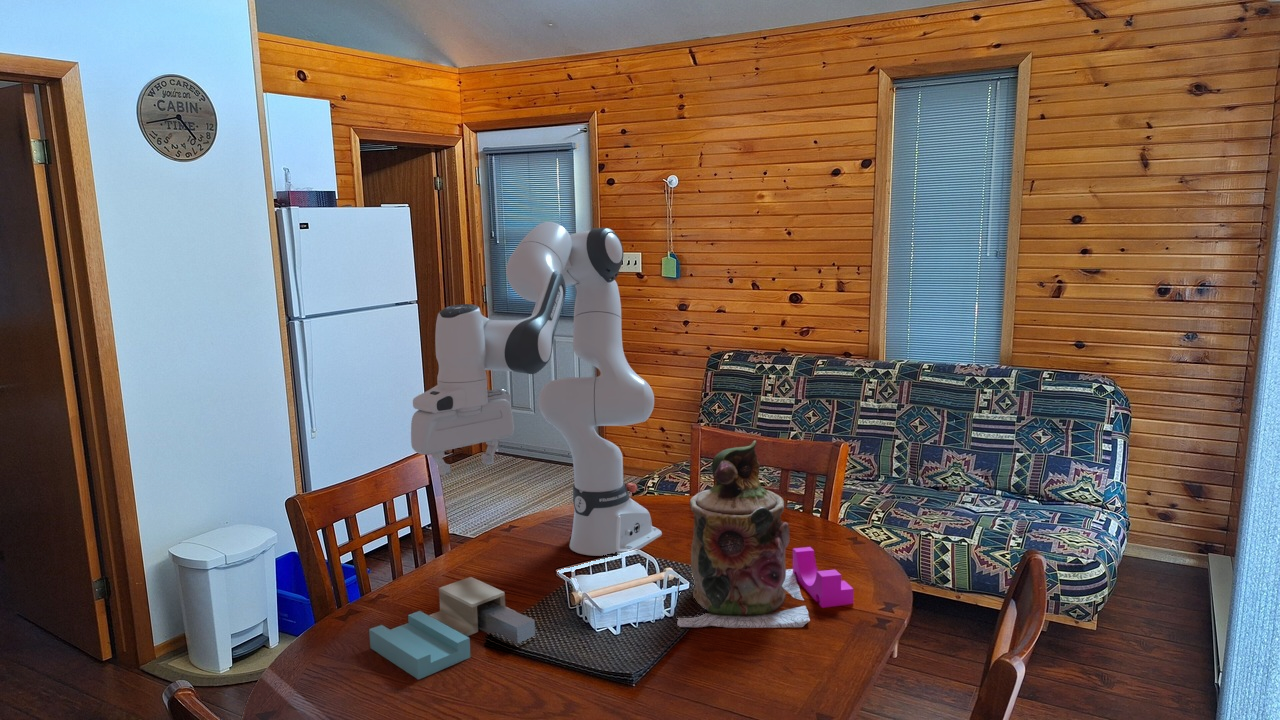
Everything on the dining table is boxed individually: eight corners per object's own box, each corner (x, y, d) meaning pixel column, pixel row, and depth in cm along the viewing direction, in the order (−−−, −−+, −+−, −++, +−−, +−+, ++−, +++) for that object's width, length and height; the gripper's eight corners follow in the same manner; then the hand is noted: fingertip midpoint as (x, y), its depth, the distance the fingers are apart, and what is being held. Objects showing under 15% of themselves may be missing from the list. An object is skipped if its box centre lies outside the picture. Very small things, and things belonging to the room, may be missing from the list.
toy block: (853, 611, 156) (853, 573, 155) (821, 614, 155) (822, 576, 154) (821, 580, 171) (821, 545, 170) (792, 583, 170) (792, 548, 169)
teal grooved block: (420, 628, 152) (419, 610, 152) (470, 657, 141) (469, 637, 141) (370, 648, 145) (369, 629, 145) (418, 679, 134) (417, 659, 134)
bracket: (482, 600, 164) (481, 573, 164) (516, 616, 157) (515, 588, 156) (429, 620, 156) (427, 591, 155) (462, 638, 148) (460, 608, 148)
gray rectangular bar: (461, 607, 162) (460, 587, 162) (535, 641, 148) (534, 619, 147) (444, 614, 159) (443, 594, 159) (517, 649, 145) (517, 627, 144)
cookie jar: (676, 578, 174) (674, 428, 169) (794, 578, 172) (795, 427, 168) (675, 632, 149) (672, 459, 145) (813, 633, 148) (814, 458, 144)
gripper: (499, 385, 160) (502, 455, 162) (404, 400, 145) (408, 477, 147) (519, 388, 155) (522, 460, 157) (423, 404, 141) (427, 483, 143)
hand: (466, 468), depth 152 cm, fingers open, 8 cm apart
